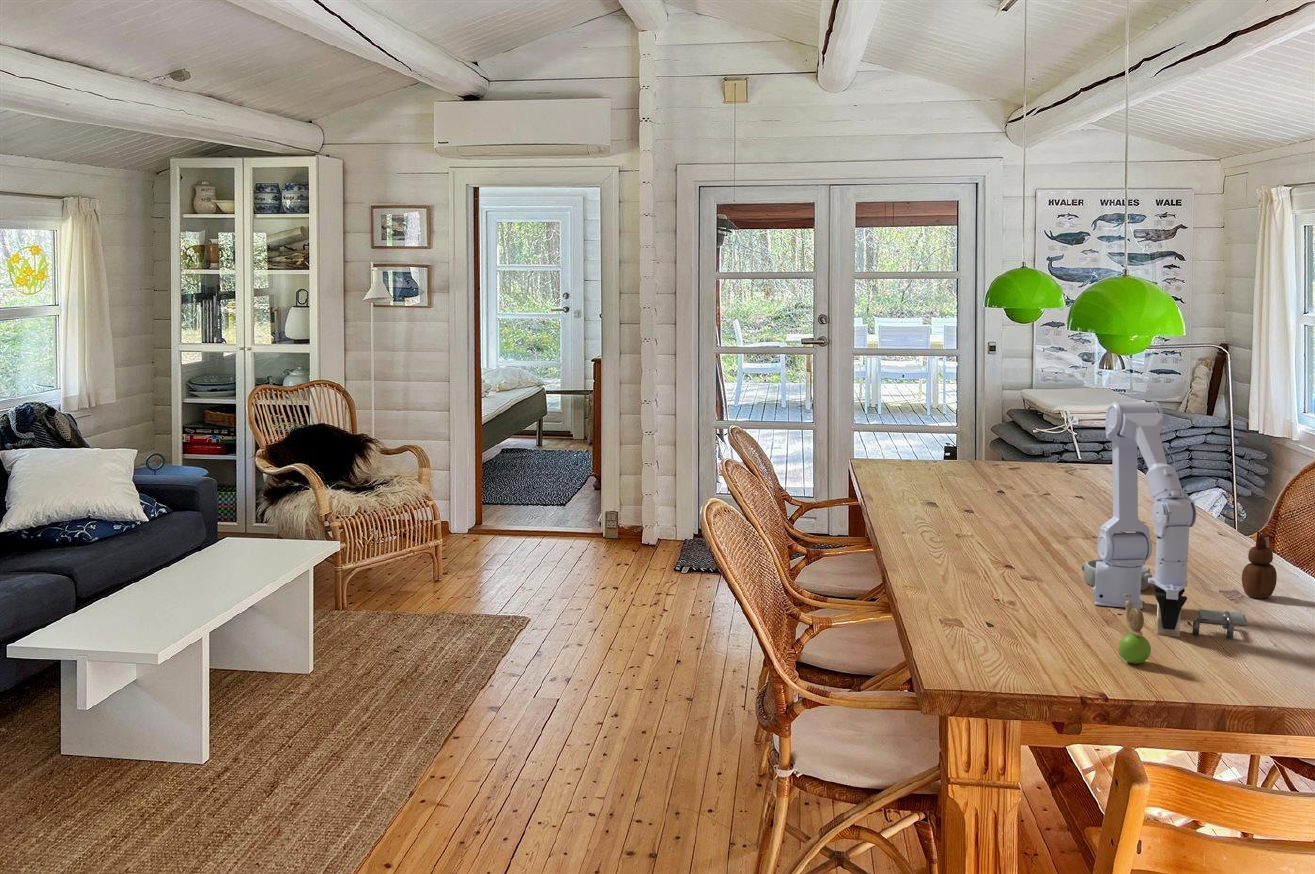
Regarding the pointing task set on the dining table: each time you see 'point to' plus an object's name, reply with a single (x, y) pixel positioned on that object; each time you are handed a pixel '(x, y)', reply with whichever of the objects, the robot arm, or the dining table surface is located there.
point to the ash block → (1166, 631)
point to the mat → (1218, 615)
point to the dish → (1090, 565)
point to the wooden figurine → (1259, 571)
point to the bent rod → (1225, 622)
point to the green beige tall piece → (1134, 637)
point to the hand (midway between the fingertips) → (1168, 625)
